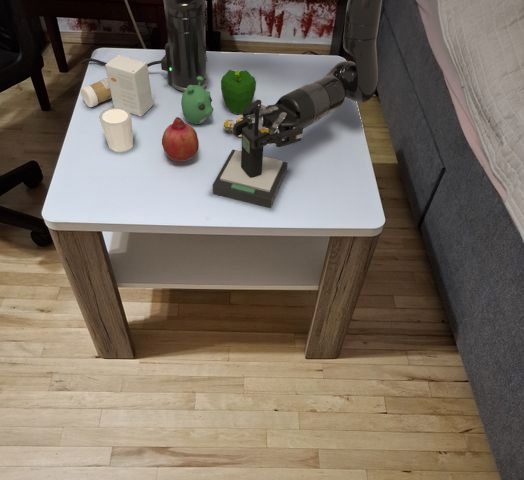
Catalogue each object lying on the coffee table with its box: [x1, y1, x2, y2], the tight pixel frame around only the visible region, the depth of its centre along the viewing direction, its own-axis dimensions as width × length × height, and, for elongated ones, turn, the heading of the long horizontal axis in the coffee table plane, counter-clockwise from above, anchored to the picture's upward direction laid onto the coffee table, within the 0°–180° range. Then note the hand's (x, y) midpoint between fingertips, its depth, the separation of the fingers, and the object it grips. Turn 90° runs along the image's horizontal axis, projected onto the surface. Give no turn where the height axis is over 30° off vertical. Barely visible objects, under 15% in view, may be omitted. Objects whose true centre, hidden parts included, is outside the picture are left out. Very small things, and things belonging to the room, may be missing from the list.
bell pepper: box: [220, 69, 257, 115], centre depth 122 cm, size 8×8×10 cm
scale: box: [212, 149, 289, 209], centre depth 109 cm, size 13×13×3 cm
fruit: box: [161, 116, 200, 162], centre depth 109 cm, size 8×8×10 cm
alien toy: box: [180, 76, 214, 125], centre depth 118 cm, size 7×8×10 cm
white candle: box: [98, 106, 134, 153], centre depth 112 cm, size 7×7×7 cm
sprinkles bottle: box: [80, 77, 112, 108], centre depth 123 cm, size 5×5×13 cm
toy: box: [223, 114, 270, 138], centre depth 118 cm, size 5×5×15 cm
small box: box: [104, 54, 154, 118], centre depth 119 cm, size 8×6×10 cm
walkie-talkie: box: [240, 107, 265, 178], centre depth 102 cm, size 5×3×15 cm
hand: (243, 137), depth 99 cm, fingers closed on walkie-talkie, 5 cm apart
